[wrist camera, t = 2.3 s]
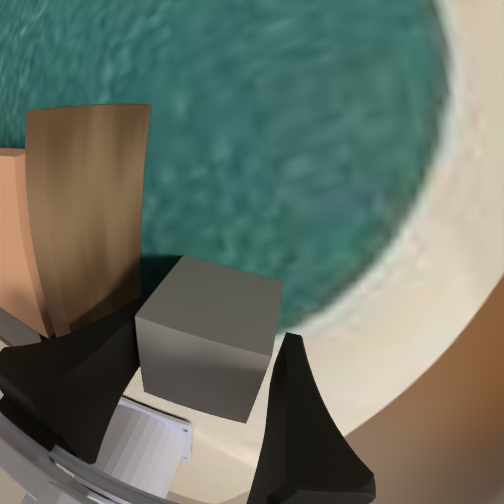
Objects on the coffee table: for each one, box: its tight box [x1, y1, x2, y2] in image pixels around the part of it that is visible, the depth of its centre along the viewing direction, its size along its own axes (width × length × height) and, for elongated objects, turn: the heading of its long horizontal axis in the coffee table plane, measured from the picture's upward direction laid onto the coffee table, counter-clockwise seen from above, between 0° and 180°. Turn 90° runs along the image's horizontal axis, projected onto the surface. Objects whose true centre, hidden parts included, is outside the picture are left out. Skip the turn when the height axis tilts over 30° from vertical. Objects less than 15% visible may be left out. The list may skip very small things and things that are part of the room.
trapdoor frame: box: [0, 104, 151, 393], centre depth 11 cm, size 14×13×6 cm
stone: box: [135, 255, 284, 423], centre depth 12 cm, size 4×4×4 cm
